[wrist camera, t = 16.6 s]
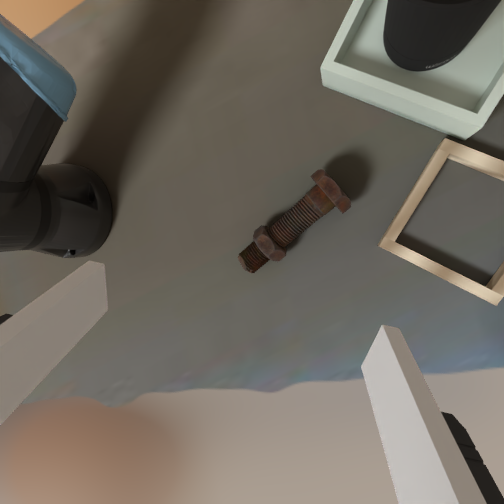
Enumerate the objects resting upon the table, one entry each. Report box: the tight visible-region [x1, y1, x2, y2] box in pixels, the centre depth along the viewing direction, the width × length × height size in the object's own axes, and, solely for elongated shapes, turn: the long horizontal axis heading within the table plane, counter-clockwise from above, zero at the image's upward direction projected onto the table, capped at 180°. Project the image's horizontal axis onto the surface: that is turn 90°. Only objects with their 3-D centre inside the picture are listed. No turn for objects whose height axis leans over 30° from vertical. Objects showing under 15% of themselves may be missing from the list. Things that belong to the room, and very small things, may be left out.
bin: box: [321, 0, 504, 141], centre depth 29 cm, size 17×17×4 cm
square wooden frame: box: [378, 138, 504, 306], centre depth 30 cm, size 13×13×2 cm
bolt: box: [238, 169, 351, 273], centre depth 35 cm, size 6×5×15 cm
